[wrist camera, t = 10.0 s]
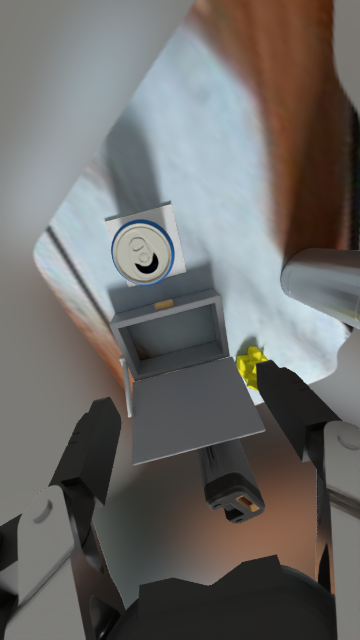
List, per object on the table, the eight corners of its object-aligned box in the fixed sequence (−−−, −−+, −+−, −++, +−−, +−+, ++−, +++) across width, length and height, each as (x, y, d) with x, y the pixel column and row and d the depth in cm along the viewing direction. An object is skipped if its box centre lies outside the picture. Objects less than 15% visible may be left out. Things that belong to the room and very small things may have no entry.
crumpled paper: (265, 345, 40) (287, 369, 32) (258, 375, 43) (277, 402, 36) (238, 346, 39) (256, 371, 32) (233, 376, 42) (248, 404, 35)
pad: (171, 204, 27) (171, 203, 27) (186, 271, 31) (186, 272, 31) (105, 222, 27) (104, 221, 27) (129, 286, 31) (128, 287, 31)
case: (213, 284, 33) (259, 323, 18) (226, 360, 40) (265, 433, 25) (108, 312, 33) (67, 373, 18) (140, 383, 40) (129, 468, 25)
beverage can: (142, 277, 30) (132, 299, 20) (119, 239, 28) (93, 240, 17) (176, 257, 30) (186, 269, 19) (156, 217, 27) (154, 203, 16)
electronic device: (183, 390, 42) (202, 506, 24) (205, 377, 41) (242, 487, 23) (204, 412, 46) (234, 526, 28) (225, 400, 45) (270, 511, 27)
